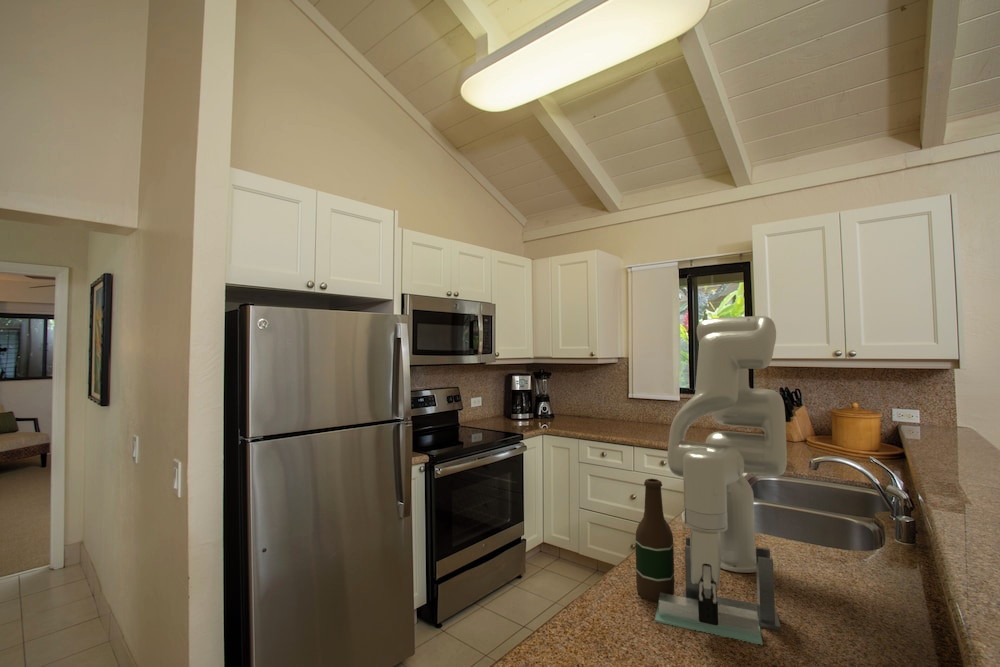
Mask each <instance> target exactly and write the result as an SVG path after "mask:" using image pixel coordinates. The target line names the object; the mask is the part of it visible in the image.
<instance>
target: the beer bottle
mask: <svg viewBox="0 0 1000 667" xmlns="http://www.w3.org/2000/svg"><path fill="white" fill-rule="evenodd" d="M643 485H644V486H645V489H644V493H645V494H644V509H643V510H644V511H643V515H642V516H643V517H642V519H641V520H640V521H639V523H638V525H637V528H636V531H635V576H636V579H635V582H636V591H637V593H638V594H639V595H640V596H641V597H642V598H643V600H647V601H650V602H653V603H657V604H659V596H660V593H665V594H670V595H675V557H674V556H675V553H674V550H675V549H674V534H673V531H672V529H671V527H670V525H669V524H668V522H667V521H666V519H665V515H664V508H663V499H662V498H663V497H662V495H663V494H662V486H663V482H662V481H661V480H659V479H657V478H647V479H645V480H644V483H643Z"/></svg>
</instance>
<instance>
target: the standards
mask: <svg viewBox="0 0 1000 667" xmlns="http://www.w3.org/2000/svg"><path fill="white" fill-rule="evenodd" d="M755 554H756V571H757V572H756V594H757V595H756V597H757V598H756V600H757V601H756V602H757V603H752V602H748V601H742V600H738V599H734V598H733V599H732V598H726V597H722V596H717V598H716V602H718V604H721V605H726V606H731V607H736V608H741V609H746V610H751V611H756V612H757V615H758V620H759V626H760V628H762V629H767V630H773V631H776V632H777V631H778V632H782V627H781V623H780V619H779V616H778V612H777V608H776V607H775V578H774V577H775V575H774V574H775V573H774V559H773V558H772V557H771V549H770V548H768V547H760V546H755ZM684 562H685V563H684V567H685V573H684V574H685V589H683V591H682V597H685V598H690V599H695V600H698V598H699V583H698V584H696V583H695V584H693V583H692V582H691V558H690V536H685V545H684Z"/></svg>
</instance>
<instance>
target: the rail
mask: <svg viewBox="0 0 1000 667" xmlns="http://www.w3.org/2000/svg"><path fill="white" fill-rule="evenodd" d="M658 604H659V616H663V617H667V618H672V619H676V620H681V621H686V622H690V623H695V624H699V625H704V626H709V627H713V628H718V629H722V630H727V631H732V632H736V633H741V634H745V635H750V636H755V637H759V620H758V615H757V612H756V611H751V610H746V609H741V608H736V607H731V606H726V605H721V604H718V625H711V624H707V623H702V622H700V621H699V611H698V600H695V599H690V598H685V597H683V596H678V595H675V594H674V595H670V594H665V593H660V596H659V603H658Z"/></svg>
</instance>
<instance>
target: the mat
mask: <svg viewBox="0 0 1000 667" xmlns="http://www.w3.org/2000/svg"><path fill="white" fill-rule="evenodd" d="M654 622H655V623H658V624H659V623H660V624H663V625H668V624H669V625H668V626H672V625H673V626H672V627H677V626H678V628H683V629H686V630H690V629H691V631H695V630H696V631H695V632H699V631H702V632H701V633H704V632H706V633H705V634H708V633H711V634H710V635H713V634H715V635H714V636H717V635H720V636H719V637H722V636H725V637H724V638H726V637H729V638H728V639H731V638H735V639H739V640H738V641H740V640H743V641H742V642H744V641H747V642H746V643H749V642H752V643H751V644H753V643H756V644H755V645H758V644H761V645H760V646H762V645H763V638H762V633H761V627H760V626H759V637H755V636H750V635H745V634H741V633H736V632H732V631H727V630H722V629H718V628H713V627H709V626H704V625H699V624H695V623H690V622H686V621H681V620H676V619H672V618H667V617H663V616H659V603H657V609H656V613H655V618H654ZM735 639H734V640H735Z"/></svg>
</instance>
